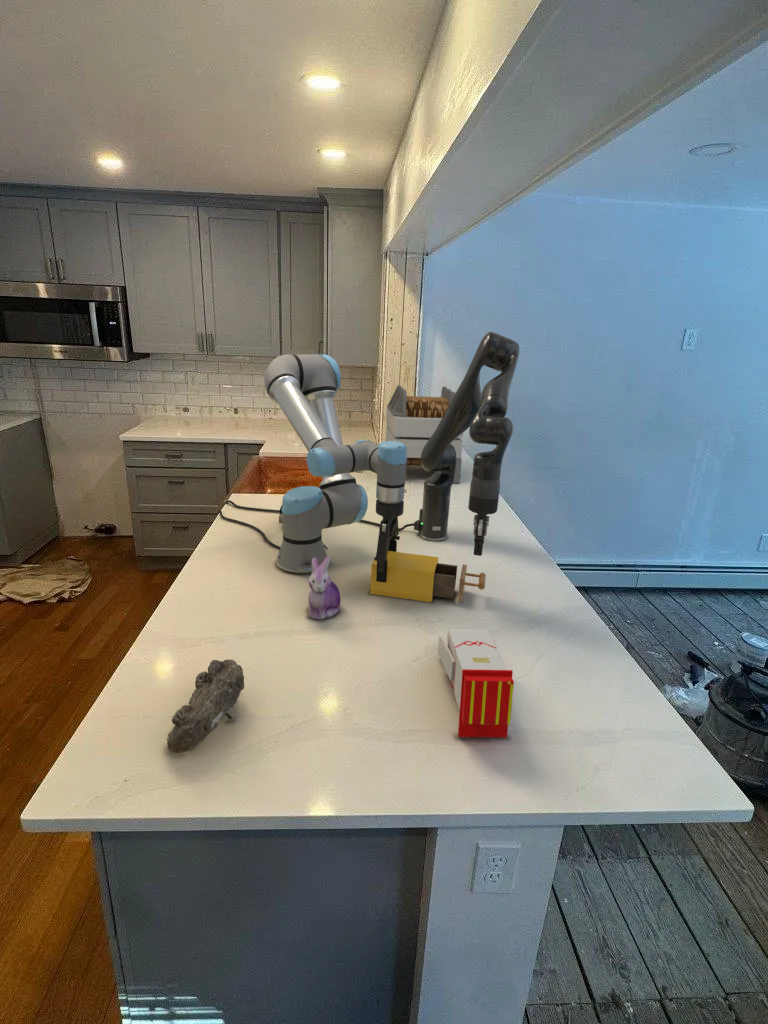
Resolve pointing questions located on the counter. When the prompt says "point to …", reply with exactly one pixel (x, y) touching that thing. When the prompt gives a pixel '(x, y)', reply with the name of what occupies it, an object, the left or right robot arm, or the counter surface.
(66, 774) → the counter surface
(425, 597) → the cabinet
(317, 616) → the figurine
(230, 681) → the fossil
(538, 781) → the counter surface
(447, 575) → the drawer
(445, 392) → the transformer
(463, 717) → the toy
